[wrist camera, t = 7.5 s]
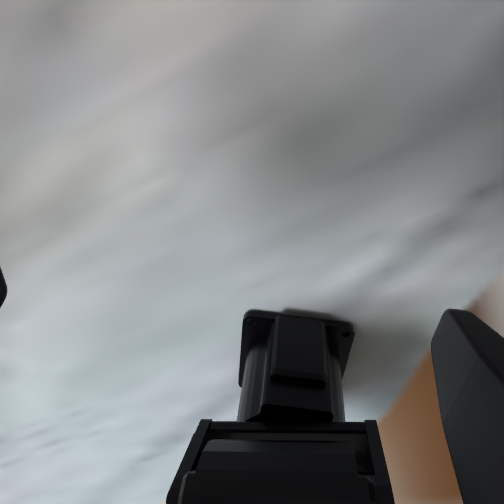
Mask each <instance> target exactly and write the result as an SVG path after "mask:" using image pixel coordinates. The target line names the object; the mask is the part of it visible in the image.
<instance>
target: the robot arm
mask: <svg viewBox="0 0 504 504" xmlns="http://www.w3.org/2000/svg"><path fill="white" fill-rule="evenodd" d="M6 295H7V285H6V282H5V279H4V276H3V273H2V270H1V267H0V308H1V306H2V304H3V302H4V300H5V298H6ZM249 319H252V320H254V321H250V320H249ZM343 331H348V332H343ZM354 335H355V332H354V327H353V325H351V324H349V323H344V322H335V321H327V320H319V319H310V318H302V317H294V316H286V315H277V314H269V313H261V312H247V313H246V314H244V318H243V326H242V340H241V354H240V368H239V382H238V383H239V386H240V387H242V390H241V396H240V403H239V409H238V416H237V421H212V419H201V420H200V423H199V425H198V427H197V429H196V432H195V433H194V434H193V437H192V439H191V441H190V444H189V446H188V448H187V450H186V453H185V455H184V457H183V460H182V462H181V464H180V467H179V469H178V471H177V473H176V476H175V478H174V480H173V483H172V485H171V487H170V490H169V492H168V494H167V498H166V504H395V503H394V497H393V492H392V488H391V483H390V478H389V474H388V470H387V465H386V461H385V457H384V452H383V448H382V444H381V440H380V435H379V431H378V426H377V422H376V420H364V422H345V412H344V401H343V390H342V378H343V374H344V371H345V367H346V364H347V360H348V357H349V353H350V349H351V346H352V342H353V339H354ZM431 353H432V360H433V365H434V373H435V380H436V387H437V394H438V400H439V407H440V413H441V419H442V424H443V428H444V433H445V437H446V440H447V444H448V448H449V452H450V455H451V459H452V463H453V466H454V470H455V474H456V477H457V481H458V485H459V489H460V492H461V496H462V500H463V503H464V504H504V338H503V337H502V336H501V335H499V334H498V333H497V332H496V331H494V330H493V329H492V328H491V327H489V326H488V325H487V324H486V323H484V322H483V321H482V320H481V319H479V318H478V317H477V316H476V315H474V314H473V313H472V312H470V311H467V310H459V309H447V310H446V311H445V312H444V313H443V315H442V317H441V319H440V322H439V324H438V326H437V329H436V331H435V333H434V336H433V338H432V342H431Z"/></svg>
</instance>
